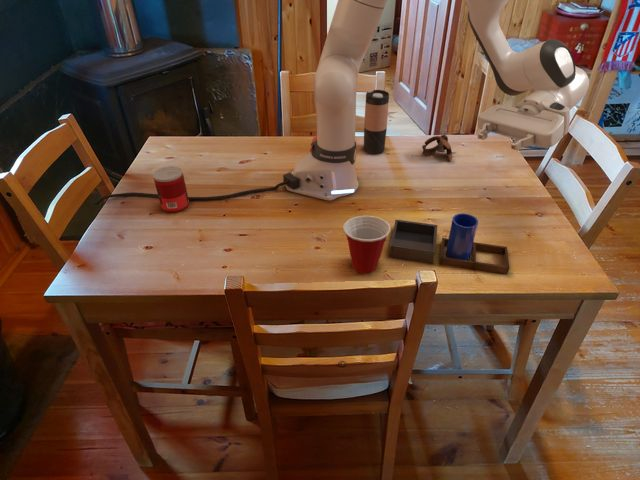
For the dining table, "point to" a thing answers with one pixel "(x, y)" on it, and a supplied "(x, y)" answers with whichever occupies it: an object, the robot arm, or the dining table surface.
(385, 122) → the travel mug
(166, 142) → the dining table surface
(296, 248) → the dining table surface
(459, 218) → the blue cup
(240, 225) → the dining table surface
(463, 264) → the brown divided tray
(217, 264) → the dining table surface
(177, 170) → the canned food
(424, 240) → the dark brown square tray
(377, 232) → the plastic cup
